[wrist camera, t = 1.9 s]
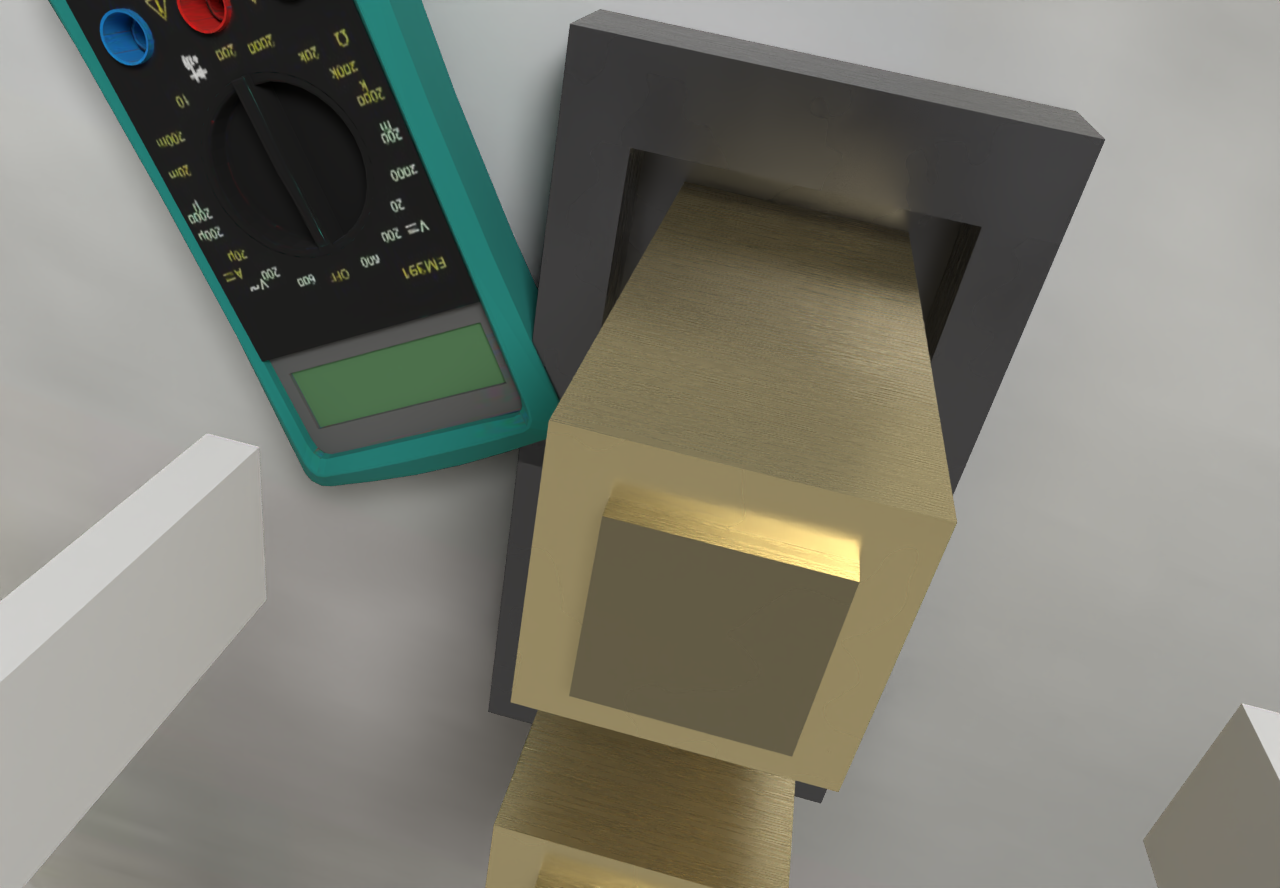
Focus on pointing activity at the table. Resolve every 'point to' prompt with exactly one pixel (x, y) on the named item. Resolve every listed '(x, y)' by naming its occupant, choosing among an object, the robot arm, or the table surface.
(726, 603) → the tan rectangular block
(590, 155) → the dark grey block holder
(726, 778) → the gold rectangular block
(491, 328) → the digital multimeter
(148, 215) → the table surface
